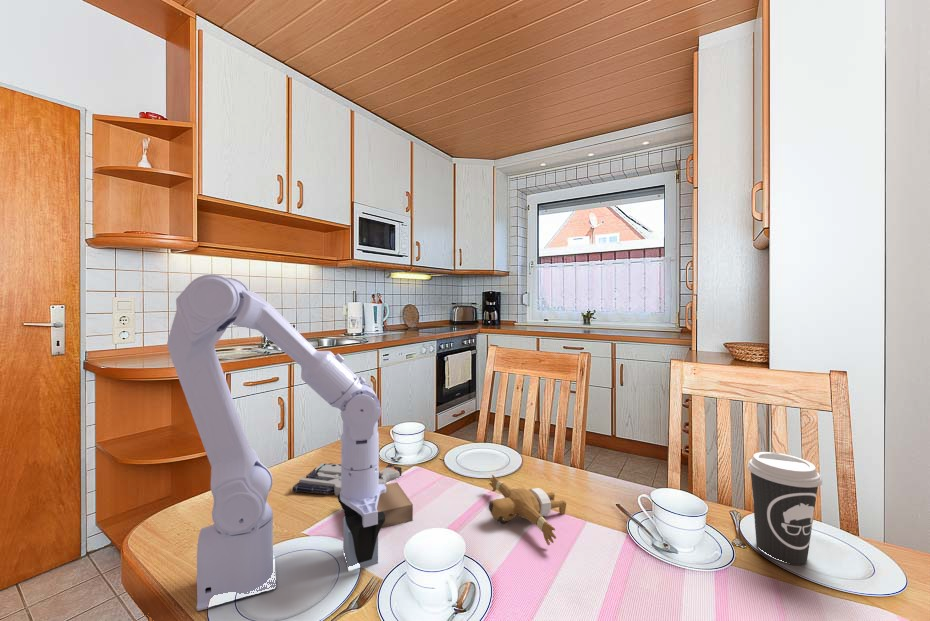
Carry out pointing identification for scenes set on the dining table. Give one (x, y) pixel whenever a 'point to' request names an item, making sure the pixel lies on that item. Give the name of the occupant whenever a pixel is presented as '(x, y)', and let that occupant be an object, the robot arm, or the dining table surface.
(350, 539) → the slate block
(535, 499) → the toy
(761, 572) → the dining table surface
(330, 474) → the toy gun
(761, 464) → the coffee cup
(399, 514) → the walnut base
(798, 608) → the dining table surface
